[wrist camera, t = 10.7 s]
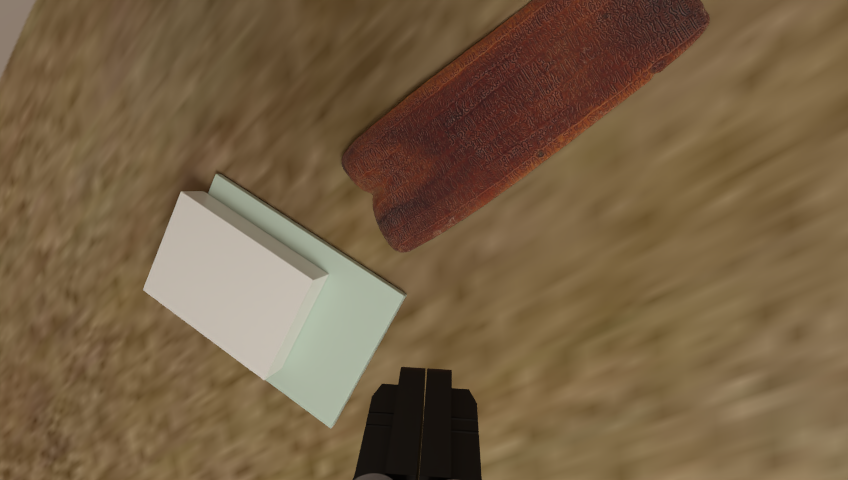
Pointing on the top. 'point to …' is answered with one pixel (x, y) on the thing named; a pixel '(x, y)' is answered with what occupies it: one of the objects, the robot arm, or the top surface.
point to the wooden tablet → (511, 107)
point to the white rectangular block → (233, 282)
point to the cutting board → (323, 312)
